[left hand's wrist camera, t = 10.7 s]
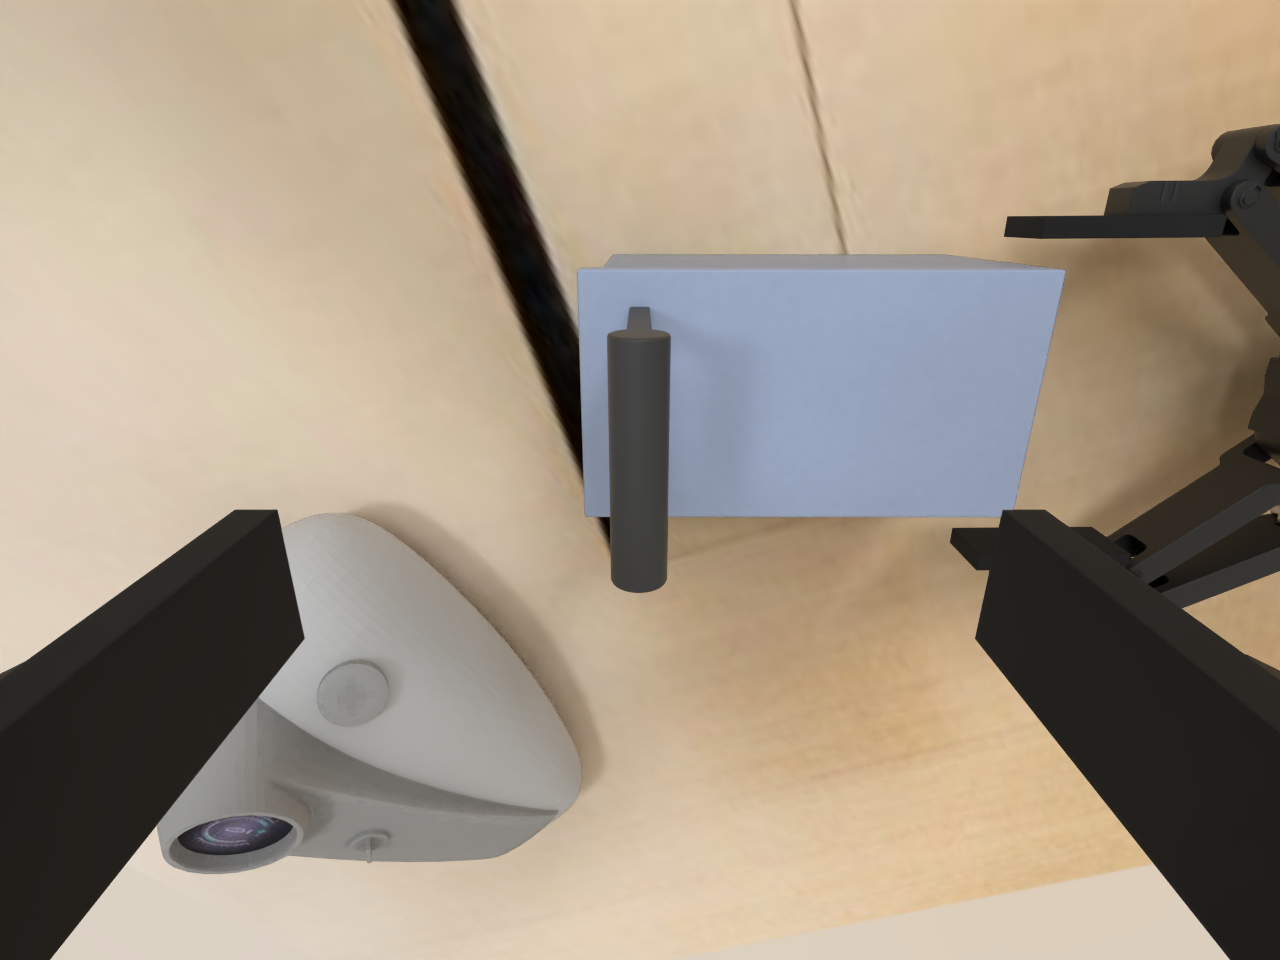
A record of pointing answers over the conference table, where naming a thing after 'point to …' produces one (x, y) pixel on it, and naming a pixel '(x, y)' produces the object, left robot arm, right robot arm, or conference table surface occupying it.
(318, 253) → the conference table surface
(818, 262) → the chest
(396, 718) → the projector
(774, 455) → the lid
